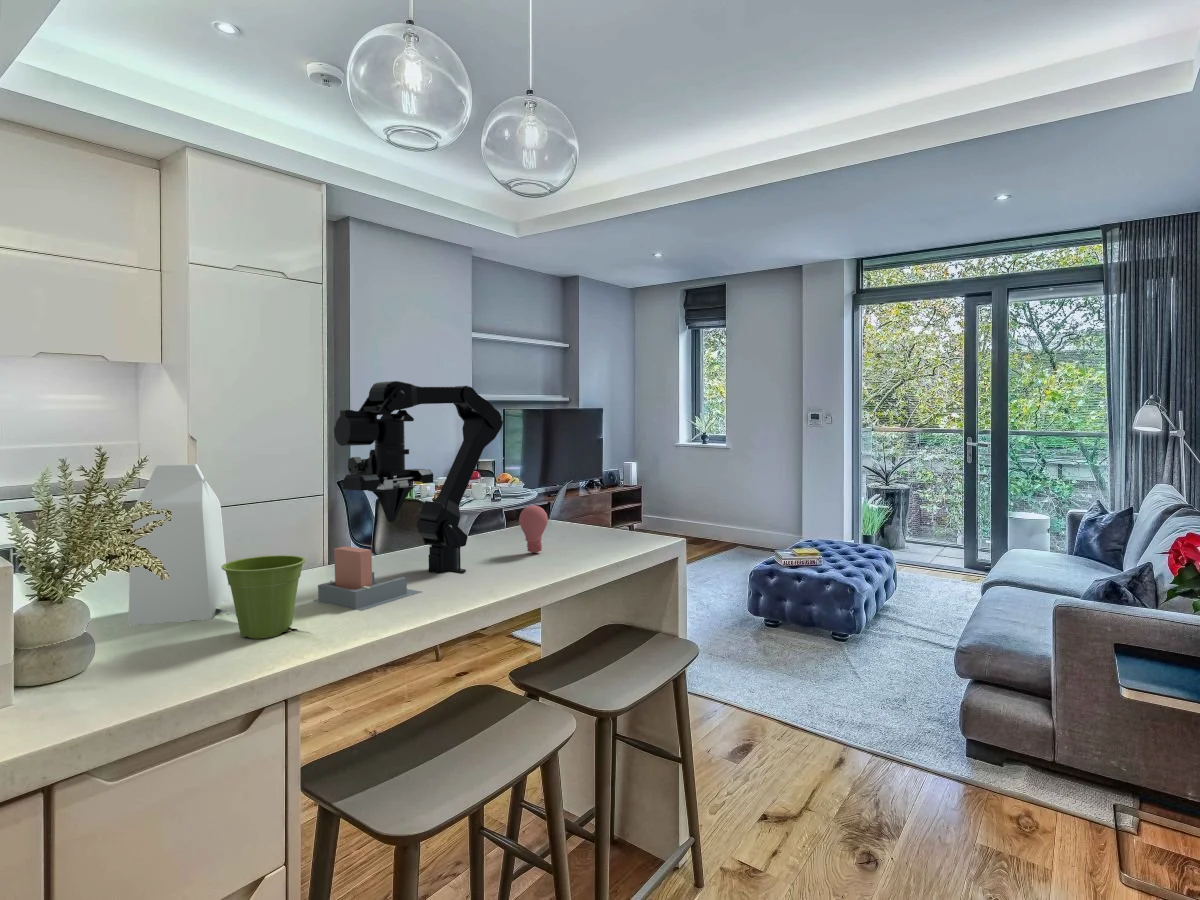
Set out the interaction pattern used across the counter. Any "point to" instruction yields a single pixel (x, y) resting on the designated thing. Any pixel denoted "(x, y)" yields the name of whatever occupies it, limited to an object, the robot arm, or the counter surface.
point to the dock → (364, 594)
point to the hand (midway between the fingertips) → (391, 521)
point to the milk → (180, 550)
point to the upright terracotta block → (353, 567)
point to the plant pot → (264, 593)
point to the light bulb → (533, 526)
